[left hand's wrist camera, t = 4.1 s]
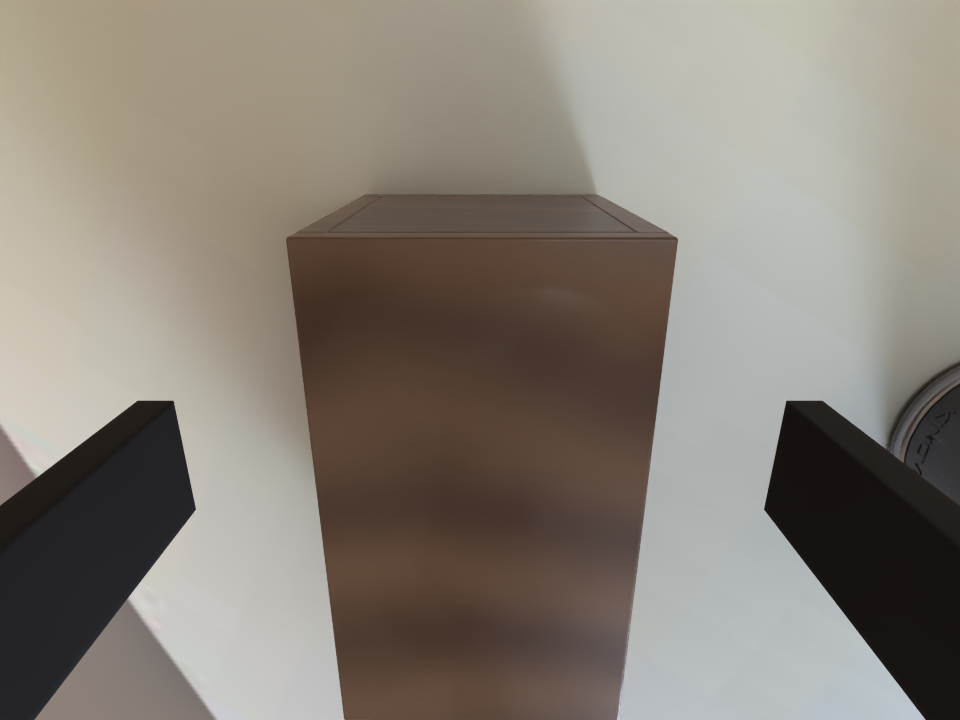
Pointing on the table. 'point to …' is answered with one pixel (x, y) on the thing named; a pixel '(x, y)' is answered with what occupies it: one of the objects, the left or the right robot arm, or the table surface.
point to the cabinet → (481, 445)
